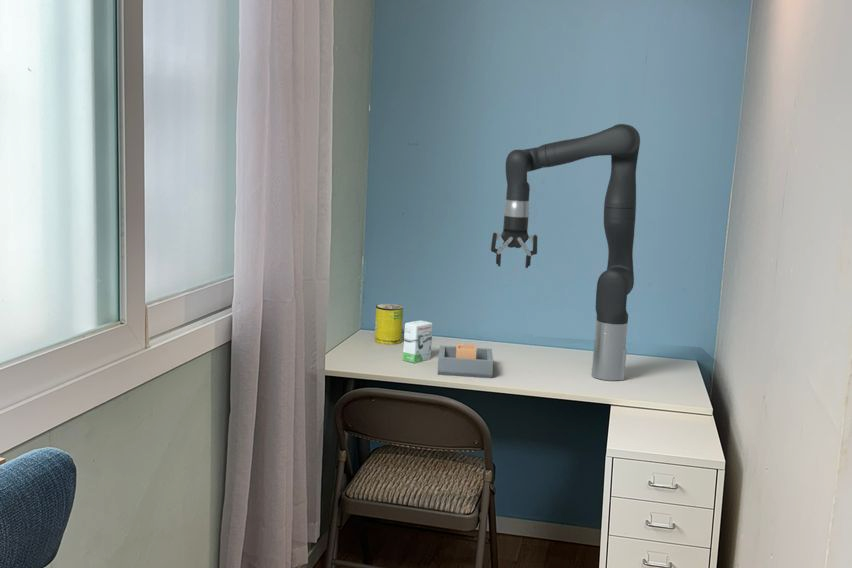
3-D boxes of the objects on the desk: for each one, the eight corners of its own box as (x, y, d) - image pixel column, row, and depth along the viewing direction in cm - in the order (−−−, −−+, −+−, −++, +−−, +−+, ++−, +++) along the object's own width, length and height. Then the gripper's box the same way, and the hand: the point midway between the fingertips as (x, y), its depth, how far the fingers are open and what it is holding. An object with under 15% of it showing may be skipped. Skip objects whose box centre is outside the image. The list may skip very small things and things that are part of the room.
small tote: (475, 364, 273) (476, 345, 272) (475, 369, 267) (476, 349, 266) (455, 363, 273) (456, 343, 272) (455, 368, 267) (456, 348, 266)
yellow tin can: (401, 339, 305) (403, 304, 303) (401, 345, 296) (402, 309, 294) (375, 337, 305) (376, 303, 303) (373, 343, 296) (375, 308, 294)
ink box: (414, 363, 274) (416, 326, 272) (401, 360, 277) (403, 323, 275) (431, 359, 281) (433, 322, 279) (419, 356, 284) (421, 319, 282)
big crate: (490, 364, 278) (491, 348, 277) (492, 378, 262) (493, 361, 261) (439, 361, 278) (440, 345, 278) (437, 374, 263) (438, 358, 262)
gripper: (538, 215, 279) (534, 266, 282) (493, 212, 280) (489, 263, 283) (540, 217, 272) (536, 270, 275) (493, 214, 272) (490, 267, 275)
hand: (512, 266), depth 279 cm, fingers open, 8 cm apart
